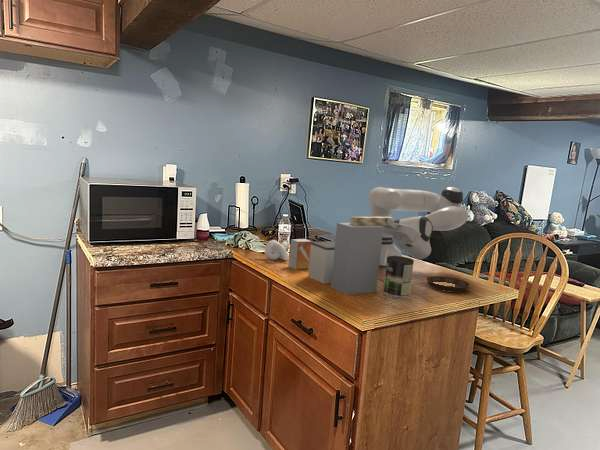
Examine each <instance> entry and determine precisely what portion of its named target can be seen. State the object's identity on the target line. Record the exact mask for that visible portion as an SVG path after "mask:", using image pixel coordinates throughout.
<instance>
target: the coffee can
mask: <svg viewBox="0 0 600 450" xmlns="http://www.w3.org/2000/svg"><path fill="white" fill-rule="evenodd" d="M414 263H415V261H414V259H412V258H410V257H405V256H402V257H401V256H389V257H387V265H386V266H385V276H384V283H383V284H384V285H383V290H382V291H383V294H385V295H387V296H390V297H393V298H399V299H401V298H402V299H405V297H406V298H408V297H410V293H411V285H412V284H411V283H412V278H413V270H414Z"/></svg>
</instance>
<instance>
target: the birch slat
mask: <svg viewBox="0 0 600 450" xmlns="http://www.w3.org/2000/svg"><path fill="white" fill-rule="evenodd" d="M386 219H389V220H391V221H392V222H394V221H395V218H394V217H392V216H391V217H371V216H350V220H349V221H350V222H349V223H350V224H352V225H355V226H364V225H387V224H386V223H385V221H386Z"/></svg>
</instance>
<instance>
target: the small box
mask: <svg viewBox="0 0 600 450" xmlns="http://www.w3.org/2000/svg"><path fill="white" fill-rule="evenodd" d="M311 242H313V241H312V240H309V239H306V238H296V239H294V238H293V239H292V238H291V239H290V245H289V246H290V247H289V259H288V267H289V268H291V269H293V270H304V269H308V270H309V261H310V249H311Z"/></svg>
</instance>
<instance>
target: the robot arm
mask: <svg viewBox="0 0 600 450" xmlns="http://www.w3.org/2000/svg"><path fill="white" fill-rule="evenodd" d="M368 201H369V210H370V217H392V213H391V212H403V211H404V212H418V213H422V212H424V213H425V212H426V213H427V212H428V214H426V215H420V216H412V217H406V218H396V219H394V222H392V221H391V220H389V219H386V221H385V223H386V224H387V225H378V226H382V227H383V235H382V245H381V254H380V263H379V266H381V267H382V266H383V267H386V265H387V257H389V256H401V257H403V255H402V251H401V250H400V249H399V248H401V249H402V250H404V252H406V253H407V254H408V255H409V256H411V257H412V258H414V259H417V260H424V259H427V258H428V257H429V256H430V255H431V252H432V247H431V243H430V238H431V236H432V234H433V232H434V231H442V232H443V231H444V232H445V231H453V230H455V229H458V228H460V227H462V226H463V225H464V224H466V222H467V221H468V218H469V213H468V210H466V209H465V208H464V207H463V206H462V203H463V201H464V193H463V191H462V190H461V189H460V188H458V187H455V186H447V187H444V188H443V189H442V191H441V193H440V195H439V194H437V193H436V192H432V191H427V190H420V189H403V188H390V187H384V186H383V187H382V186H377V187H373V188H372V189H371V190H370V191H369V193H368ZM398 247H399V248H398Z"/></svg>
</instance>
